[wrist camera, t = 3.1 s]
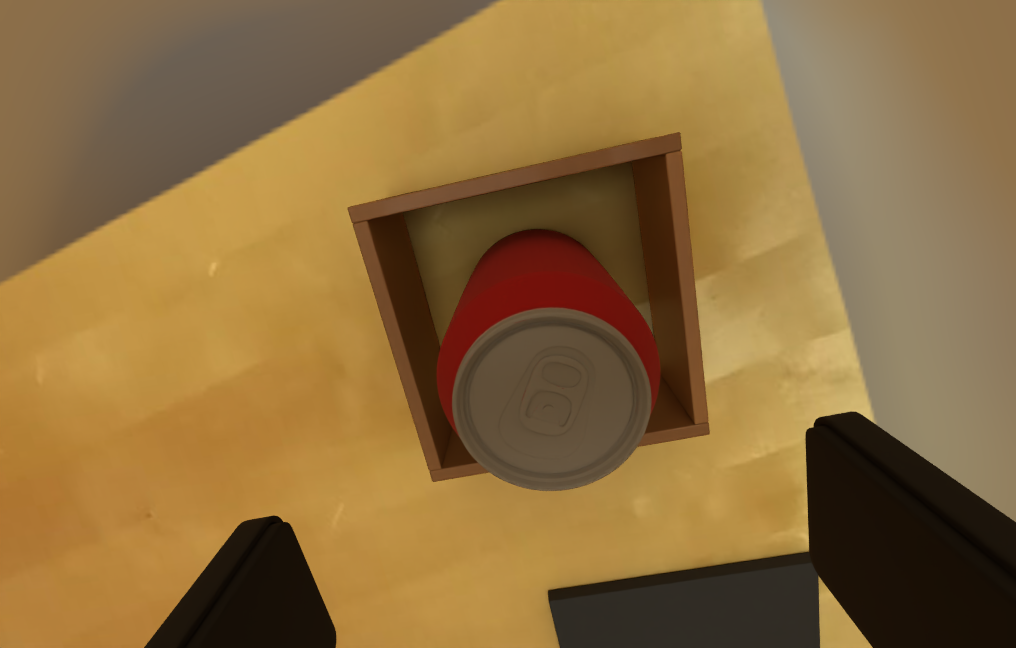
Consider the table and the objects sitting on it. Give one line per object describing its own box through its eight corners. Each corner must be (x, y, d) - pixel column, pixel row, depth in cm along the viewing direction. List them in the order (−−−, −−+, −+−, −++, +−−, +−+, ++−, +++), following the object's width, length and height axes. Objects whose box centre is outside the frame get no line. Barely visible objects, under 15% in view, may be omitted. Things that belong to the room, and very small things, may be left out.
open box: (642, 140, 22) (680, 131, 17) (671, 380, 26) (710, 434, 20) (386, 198, 23) (346, 207, 18) (449, 420, 27) (432, 482, 21)
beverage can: (454, 336, 25) (400, 478, 14) (490, 208, 23) (461, 250, 12) (577, 371, 25) (625, 537, 14) (623, 249, 23) (721, 327, 12)
